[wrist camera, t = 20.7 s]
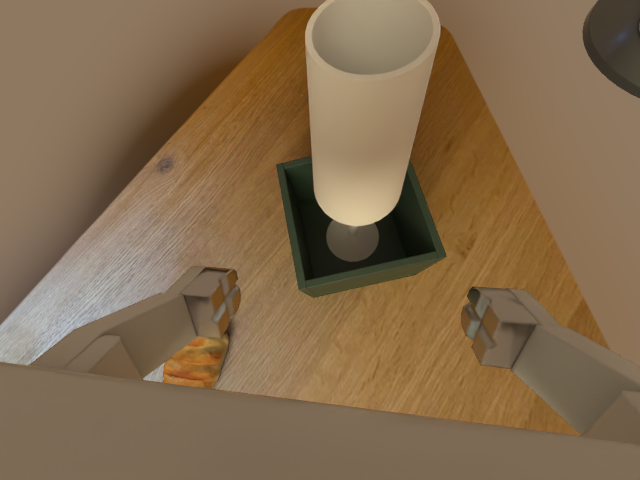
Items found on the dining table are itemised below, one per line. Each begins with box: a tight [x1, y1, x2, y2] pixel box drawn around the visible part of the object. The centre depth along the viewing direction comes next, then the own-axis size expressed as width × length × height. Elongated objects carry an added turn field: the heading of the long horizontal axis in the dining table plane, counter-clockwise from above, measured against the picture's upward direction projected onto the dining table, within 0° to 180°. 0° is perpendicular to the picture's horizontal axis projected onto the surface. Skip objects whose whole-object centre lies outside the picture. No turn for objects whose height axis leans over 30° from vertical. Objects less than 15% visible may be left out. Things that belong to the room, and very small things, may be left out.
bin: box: [276, 156, 446, 298], centre depth 28 cm, size 13×13×10 cm
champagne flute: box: [305, 0, 441, 262], centre depth 20 cm, size 7×7×24 cm
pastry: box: [163, 334, 229, 389], centre depth 28 cm, size 9×7×4 cm
